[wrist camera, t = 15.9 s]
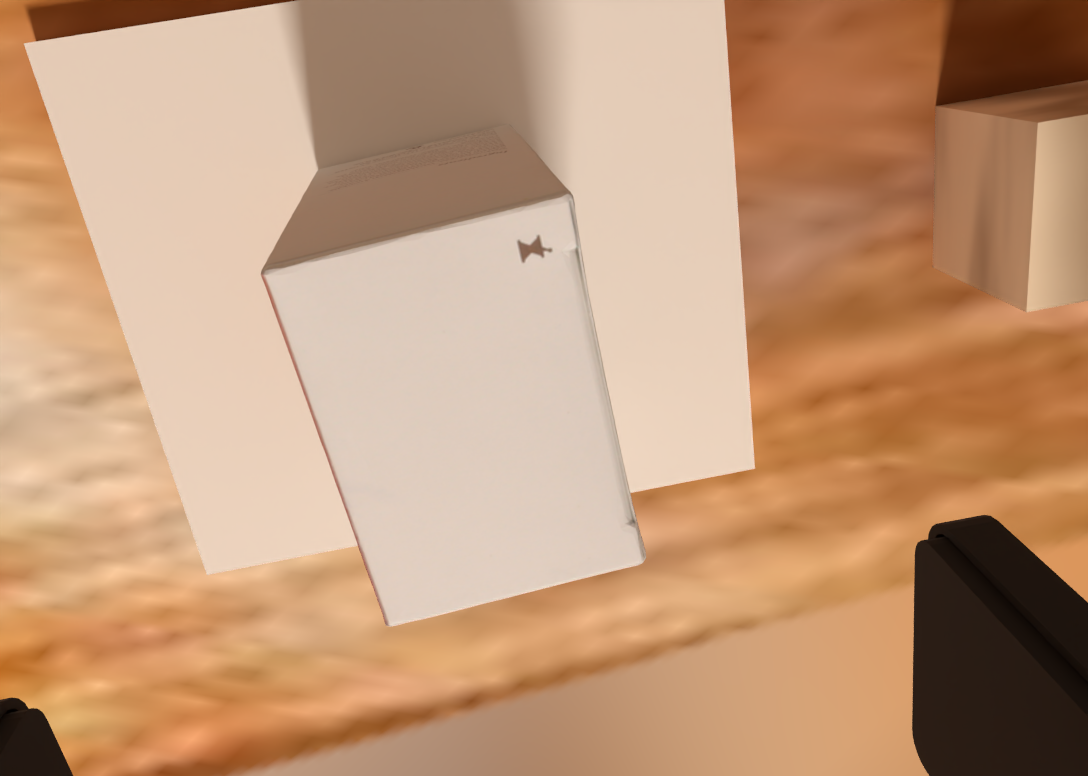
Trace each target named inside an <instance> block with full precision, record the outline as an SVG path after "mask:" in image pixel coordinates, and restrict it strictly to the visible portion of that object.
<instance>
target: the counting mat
mask: <svg viewBox="0 0 1088 776" xmlns="http://www.w3.org/2000/svg"><path fill="white" fill-rule="evenodd" d="M24 46H25V49H26V51H27V54H28V57H29V60H30V63H31V66H32V69H33V72H34V75H35V78H36V80H37V83H38V86H39V89H40V92H41V95H42V98H43V101H44V104H45V107H46V109H47V112H48V115H49V118H50V121H51V124H52V127H53V130H54V133H55V135H56V138H57V141H58V144H59V147H60V150H61V153H62V156H63V159H64V162H65V164H66V167H67V170H68V173H69V176H70V179H71V182H72V185H73V188H74V191H75V193H76V196H77V199H78V202H79V205H80V208H81V211H82V214H83V217H84V220H85V222H86V225H87V228H88V231H89V234H90V237H91V240H92V243H93V246H94V249H95V251H96V254H97V257H98V260H99V263H100V266H101V269H102V272H103V275H104V278H105V280H106V283H107V286H108V289H109V292H110V295H111V298H112V301H113V304H114V307H115V309H116V312H117V315H118V318H119V321H120V324H121V327H122V330H123V333H124V336H125V338H126V341H127V344H128V347H129V350H130V353H131V356H132V359H133V362H134V365H135V367H136V370H137V373H138V376H139V379H140V382H141V385H142V388H143V391H144V394H145V396H146V399H147V402H148V405H149V408H150V411H151V414H152V417H153V420H154V422H155V425H156V428H157V431H158V434H159V437H160V440H161V443H162V446H163V449H164V451H165V454H166V457H167V460H168V463H169V466H170V469H171V472H172V475H173V478H174V480H175V483H176V486H177V489H178V492H179V495H180V498H181V501H182V504H183V507H184V509H185V512H186V515H187V518H188V521H189V524H190V527H191V530H192V533H193V536H194V538H195V541H196V544H197V547H198V550H199V553H200V556H201V559H202V562H203V565H204V567H205V570H206V573H207V575H209V574H214V573H220V572H225V571H230V570H235V569H240V568H245V567H251V566H256V565H261V564H266V563H271V562H276V561H281V560H287V559H292V558H297V557H302V556H307V555H312V554H317V553H323V552H328V551H333V550H338V549H343V548H348V547H354V546H358V544H357V541H356V538H355V536H354V533H353V530H352V527H351V524H350V521H349V519H348V516H347V513H346V510H345V507H344V505H343V502H342V499H341V496H340V494H339V491H338V488H337V485H336V483H335V480H334V477H333V474H332V471H331V468H330V465H329V462H328V460H327V457H326V454H325V451H324V449H323V446H322V443H321V441H320V438H319V435H318V432H317V429H316V427H315V424H314V421H313V418H312V415H311V413H310V410H309V407H308V404H307V401H306V398H305V396H304V393H303V390H302V387H301V384H300V382H299V379H298V376H297V373H296V371H295V368H294V365H293V362H292V359H291V357H290V354H289V351H288V348H287V346H286V343H285V340H284V337H283V335H282V332H281V329H280V326H279V323H278V321H277V318H276V315H275V312H274V309H273V307H272V304H271V301H270V298H269V295H268V292H267V290H266V287H265V284H264V282H263V279H262V277H261V270H262V269H263V267H264V265H265V263H266V262H267V259H268V257H269V255H270V254H271V252H272V251H273V249H274V247H275V245H276V243H277V241H278V239H279V238H280V236H281V234H282V232H283V230H284V229H285V227H286V225H287V223H288V222H289V220H290V218H291V216H292V214H293V213H294V211H295V209H296V208H297V206H298V204H299V202H300V201H301V199H302V196H303V194H304V193H305V191H306V190H307V188H308V186H309V184H310V182H311V181H312V179H313V177H314V176H315V174H316V172H317V171H318V170H320V169H323V168H327V167H331V166H335V165H339V164H343V163H347V162H352V161H356V160H360V159H364V158H368V157H372V156H377V155H381V154H385V153H389V152H394V151H398V150H402V149H406V148H410V147H414V146H419V145H423V144H427V143H431V142H435V141H440V140H444V139H448V138H452V137H457V136H461V135H465V134H469V133H474V132H478V131H482V130H487V129H491V128H494V127H498V126H502V125H506V124H510V125H511V126H512V127H513V128H514V129H515V130H516V131H517V132H518V133H519V134H520V135H521V136H522V137H523V139H524V140H525V141H526V142H527V143H528V144H529V145H530V146H531V148H532V149H533V150H534V151H535V152H536V153H537V154H538V156H539V157H540V158H541V159H542V160H543V162H544V163H545V164H546V165H547V166H548V167H549V169H550V170H551V171H552V172H553V173H554V174H555V175H556V177H557V178H558V179H559V180H560V181H561V182H562V183H563V185H564V186H565V187H566V188H567V189H568V190H569V191H570V192H571V193H572V195H573V197H574V202H575V212H576V219H577V225H578V231H579V238H580V244H581V250H582V256H583V262H584V268H585V275H586V281H587V287H588V293H589V298H590V303H591V308H592V313H593V318H594V322H595V327H596V332H597V337H598V342H599V347H600V352H601V357H602V362H603V367H604V372H605V377H606V382H607V387H608V392H609V396H610V401H611V406H612V411H613V415H614V420H615V425H616V430H617V434H618V439H619V444H620V449H621V454H622V459H623V463H624V468H625V472H626V477H627V481H628V486H629V490H630V493H632V492H637V491H642V490H647V489H652V488H657V487H663V486H668V485H673V484H678V483H683V482H688V481H693V480H699V479H704V478H709V477H714V476H719V475H724V474H730V473H735V472H740V471H745V470H750V469H755V464H754V449H753V434H752V418H751V403H750V388H749V373H748V357H747V342H746V327H745V312H744V296H743V281H742V266H741V251H740V235H739V220H738V205H737V190H736V174H735V159H734V144H733V129H732V113H731V98H730V83H729V68H728V52H727V37H726V22H725V7H724V0H297V1H290V2H284V3H278V4H271V5H265V6H259V7H252V8H246V9H240V10H233V11H227V12H221V13H214V14H208V15H202V16H195V17H189V18H182V19H176V20H170V21H163V22H157V23H151V24H144V25H138V26H132V27H125V28H119V29H113V30H106V31H100V32H94V33H87V34H81V35H75V36H68V37H62V38H55V39H49V40H43V41H36V42H30V43H24Z"/></svg>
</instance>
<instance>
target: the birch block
mask: <svg viewBox="0 0 1088 776" xmlns="http://www.w3.org/2000/svg"><path fill="white" fill-rule="evenodd" d="M933 268H935V269H937V270H939V271H941V272H944V273H946V274H948V275H950V276H952V277H954V278H956V279H958V280H960V281H962V282H964V283H967V284H969V285H971V286H973V287H975V288H977V289H979V290H981V291H983V292H985V293H987V294H989V295H992V296H994V297H996V298H998V299H1000V300H1002V301H1004V302H1006V303H1008V304H1010V305H1012V306H1015V307H1017V308H1019V309H1021V310H1023V311H1025V312H1030V311H1036V310H1041V309H1047V308H1052V307H1057V306H1063V305H1068V304H1073V303H1079V302H1084V301H1088V80H1086V81H1080V82H1074V83H1068V84H1062V85H1056V86H1050V87H1045V88H1039V89H1033V90H1027V91H1021V92H1015V93H1009V94H1004V95H998V96H992V97H986V98H980V99H974V100H969V101H963V102H957V103H951V104H945V105H939V106H936V115H935V169H934V223H933Z"/></svg>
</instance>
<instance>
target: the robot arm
mask: <svg viewBox="0 0 1088 776" xmlns="http://www.w3.org/2000/svg"><path fill="white" fill-rule="evenodd" d="M913 654H914V655H913V719H912V721H913V722H912V730H913V739H914V744H915V747H916V750H917V753H918V756H919V758H920V760H921V762H922V764H923V766H924V768H925V769H926V771H927V773H928V774H929V776H1088V603H1087V602H1086V601H1085V600H1084V599H1083V598H1082V597H1081V596H1080V595H1079V594H1077V592H1076V591H1074V590H1073V589H1072V588H1071V587H1070V586H1069V585H1068V584H1067V583H1066V582H1064V581H1063V580H1062V579H1061V578H1060V577H1059V576H1058V575H1057V574H1056V573H1055V572H1054V571H1052V570H1051V569H1050V568H1049V567H1048V566H1047V565H1046V564H1045V563H1044V562H1043V561H1041V560H1040V559H1039V558H1038V557H1037V556H1036V555H1035V554H1034V553H1033V552H1032V551H1030V550H1029V549H1028V548H1027V547H1026V546H1025V545H1024V544H1023V543H1022V542H1021V541H1019V540H1018V539H1017V538H1016V537H1015V536H1014V535H1013V534H1012V533H1011V532H1010V531H1008V530H1007V529H1006V528H1005V527H1004V526H1003V525H1002V524H1001V523H1000V522H999V521H997V520H996V519H994V518H993V517H991V516H988V515H981V516H976V517H971V518H965V519H960V520H955V521H949V522H944V523H939V524H936V525H934V526H932V528H931V530H930V532H929V537H928V540H923V541H920V542H918V544H917V546H916V550H915V586H914V653H913ZM0 776H73V775H72V772H71V770H70V768H69V766H68V764H67V762H66V759H65V757H64V755H63V753H62V751H61V749H60V747H59V744H58V742H57V740H56V738H55V736H54V734H53V731H52V729H51V727H50V725H49V723H48V721H47V719H46V717H45V715H44V714H43V712H41V711H40V710H39V709H34V708H32V709H28V707H27V706H26V704H25V703H24V702H23V701H21V700H20V699H18V698H7V699H2V700H0Z"/></svg>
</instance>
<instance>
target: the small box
mask: <svg viewBox="0 0 1088 776" xmlns="http://www.w3.org/2000/svg"><path fill="white" fill-rule="evenodd" d="M261 277H262V279H263V282H264V284H265V287H266V290H267V292H268V295H269V298H270V301H271V304H272V307H273V309H274V312H275V315H276V318H277V321H278V323H279V326H280V329H281V332H282V335H283V337H284V340H285V343H286V346H287V348H288V351H289V354H290V357H291V359H292V362H293V365H294V368H295V371H296V373H297V376H298V379H299V382H300V384H301V387H302V390H303V393H304V396H305V398H306V401H307V404H308V407H309V410H310V413H311V415H312V418H313V421H314V424H315V427H316V429H317V432H318V435H319V438H320V441H321V443H322V446H323V449H324V451H325V454H326V457H327V460H328V462H329V465H330V468H331V471H332V474H333V477H334V480H335V483H336V485H337V488H338V491H339V494H340V496H341V499H342V502H343V505H344V507H345V510H346V513H347V516H348V519H349V521H350V524H351V527H352V530H353V533H354V536H355V538H356V541H357V544H358V547H359V550H360V553H361V555H362V558H363V561H364V564H365V567H366V570H367V572H368V575H369V578H370V580H371V583H372V586H373V588H374V591H375V594H376V597H377V600H378V602H379V605H380V608H381V611H382V614H383V617H384V621H385V624H386V626H395V625H399V624H403V623H407V622H412V621H416V620H421V619H425V618H429V617H433V616H437V615H441V614H446V613H450V612H453V611H457V610H461V609H465V608H469V607H473V606H476V605H480V604H484V603H488V602H492V601H497V600H501V599H504V598H508V597H512V596H516V595H520V594H524V593H528V592H532V591H536V590H540V589H544V588H547V587H551V586H555V585H559V584H563V583H567V582H571V581H575V580H579V579H583V578H587V577H591V576H595V575H599V574H603V573H607V572H611V571H615V570H619V569H624V568H628V567H632V566H637V565H639V564H641V563H643V562H644V560H645V559H646V552H645V547H644V544H643V541H642V537H641V534H640V530H639V526H638V522H637V519H636V515H635V511H634V507H633V503H632V499H631V494H630V490H629V486H628V481H627V477H626V472H625V468H624V463H623V459H622V454H621V449H620V444H619V439H618V434H617V430H616V425H615V420H614V415H613V411H612V406H611V401H610V396H609V392H608V387H607V382H606V377H605V372H604V367H603V362H602V357H601V352H600V347H599V342H598V337H597V332H596V327H595V322H594V318H593V313H592V308H591V303H590V298H589V293H588V287H587V281H586V275H585V268H584V262H583V256H582V250H581V244H580V238H579V231H578V225H577V219H576V212H575V202H574V197H573V195H572V193H571V192H570V191H569V190H568V189H567V188H566V187H565V186H564V185H563V183H562V182H561V181H560V180H559V179H558V178H557V177H556V175H555V174H554V173H553V172H552V171H551V170H550V169H549V167H548V166H547V165H546V164H545V163H544V162H543V160H542V159H541V158H540V157H539V156H538V154H537V153H536V152H535V151H534V150H533V149H532V148H531V146H530V145H529V144H528V143H527V142H526V141H525V140H524V139H523V137H522V136H521V135H520V134H519V133H518V132H517V131H516V130H515V129H514V128H513V127H512V126H511V125H510V124H506V125H502V126H498V127H494V128H491V129H487V130H482V131H478V132H474V133H469V134H465V135H461V136H457V137H452V138H448V139H444V140H440V141H435V142H431V143H427V144H423V145H419V146H414V147H410V148H406V149H402V150H398V151H394V152H389V153H385V154H381V155H377V156H372V157H368V158H364V159H360V160H356V161H352V162H347V163H343V164H339V165H335V166H331V167H327V168H323V169H320V170H318V171H317V172H316V174H315V176H314V177H313V179H312V181H311V182H310V184H309V186H308V188H307V190H306V191H305V193H304V194H303V196H302V199H301V201H300V202H299V204H298V206H297V208H296V209H295V211H294V213H293V214H292V216H291V218H290V220H289V222H288V223H287V225H286V227H285V229H284V230H283V232H282V234H281V236H280V238H279V239H278V241H277V243H276V245H275V247H274V249H273V251H272V252H271V254H270V255H269V257H268V259H267V262H266V263H265V265H264V267H263V269H262V270H261Z"/></svg>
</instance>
